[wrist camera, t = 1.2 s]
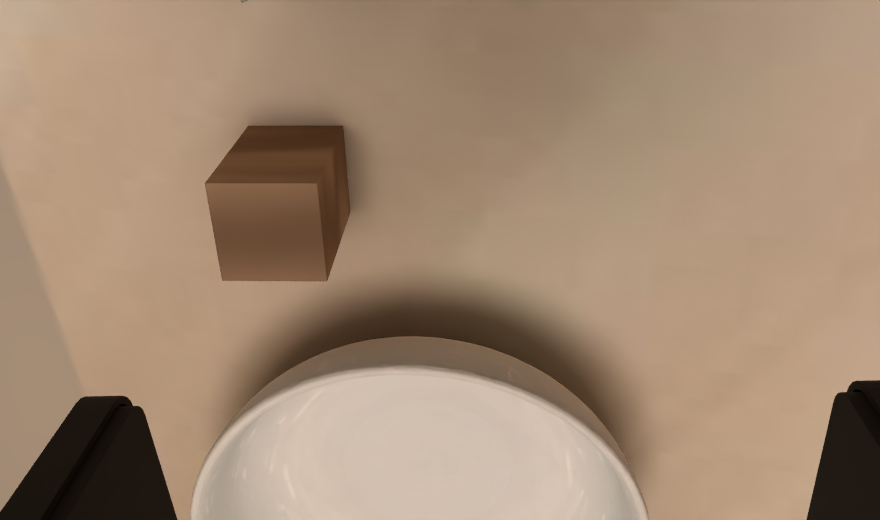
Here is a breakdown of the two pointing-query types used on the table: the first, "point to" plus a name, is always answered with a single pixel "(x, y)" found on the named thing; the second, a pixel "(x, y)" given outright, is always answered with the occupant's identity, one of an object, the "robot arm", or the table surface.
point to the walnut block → (280, 203)
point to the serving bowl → (415, 442)
